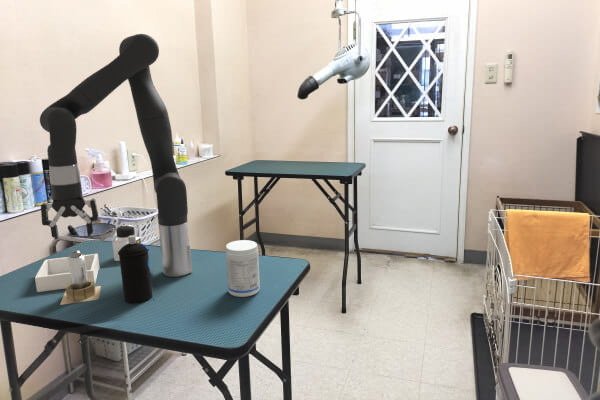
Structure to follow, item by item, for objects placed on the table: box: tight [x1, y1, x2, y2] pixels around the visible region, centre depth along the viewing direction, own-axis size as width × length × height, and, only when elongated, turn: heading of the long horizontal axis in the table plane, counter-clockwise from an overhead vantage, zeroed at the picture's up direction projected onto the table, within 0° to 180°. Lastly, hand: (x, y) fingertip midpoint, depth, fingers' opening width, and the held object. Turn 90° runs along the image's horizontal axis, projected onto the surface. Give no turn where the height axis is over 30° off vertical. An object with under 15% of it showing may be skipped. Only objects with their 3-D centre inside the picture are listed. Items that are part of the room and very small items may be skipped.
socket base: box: [59, 280, 102, 306], centre depth 140 cm, size 10×10×4 cm
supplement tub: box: [225, 239, 261, 298], centre depth 142 cm, size 10×10×15 cm
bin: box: [34, 253, 101, 293], centre depth 152 cm, size 16×16×6 cm
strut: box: [67, 249, 89, 290], centre depth 139 cm, size 5×5×14 cm
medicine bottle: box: [111, 224, 142, 262], centre depth 172 cm, size 7×7×12 cm
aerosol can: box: [118, 234, 155, 305], centre depth 135 cm, size 8×8×20 cm
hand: (73, 236), depth 136 cm, fingers open, 8 cm apart
